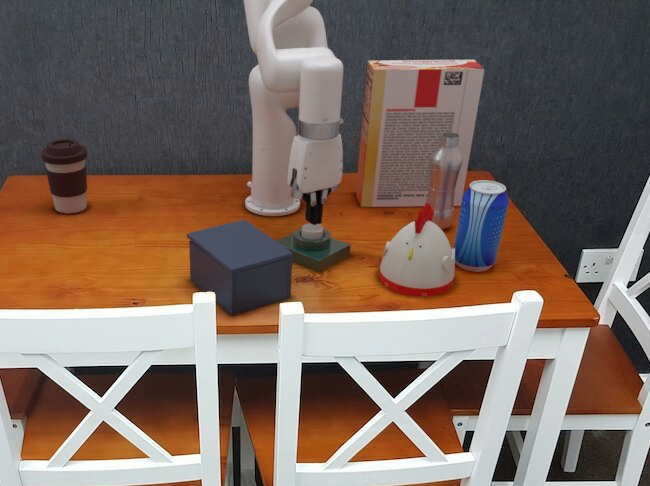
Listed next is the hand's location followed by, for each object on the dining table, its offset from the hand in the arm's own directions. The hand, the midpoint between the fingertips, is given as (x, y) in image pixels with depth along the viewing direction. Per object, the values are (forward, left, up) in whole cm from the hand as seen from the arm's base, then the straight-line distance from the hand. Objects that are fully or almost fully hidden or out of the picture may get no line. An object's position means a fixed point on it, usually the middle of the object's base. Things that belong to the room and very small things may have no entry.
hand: (313, 221), depth 155 cm
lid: (+4, -20, +1) cm, 20 cm away
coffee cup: (-48, -33, -7) cm, 59 cm away
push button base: (0, 0, -7) cm, 7 cm away
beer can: (+20, +25, -7) cm, 33 cm away
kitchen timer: (+19, +11, -7) cm, 23 cm away
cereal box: (-12, +36, -7) cm, 39 cm away
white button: (0, 0, -3) cm, 3 cm away
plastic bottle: (+3, +31, -7) cm, 32 cm away
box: (+5, -20, -7) cm, 22 cm away
